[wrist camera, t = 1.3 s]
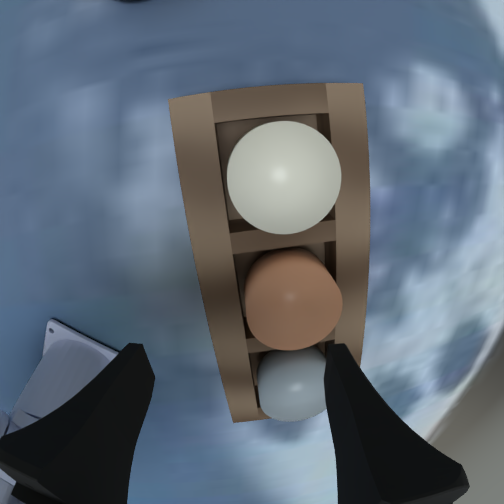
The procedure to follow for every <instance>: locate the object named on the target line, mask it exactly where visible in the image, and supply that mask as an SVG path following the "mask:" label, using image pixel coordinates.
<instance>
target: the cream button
mask: <svg viewBox="0 0 504 504" xmlns="http://www.w3.org/2000/svg"><path fill="white" fill-rule="evenodd" d="M227 186H228V191H229V195H230V198H231V201H232V202H233V204H234V206H235V208H236V209H237V211H238V212H239V214H240V215H241V216H242V217H243V218H244V219H245V220H246V221H247V222H249V223H250V224H251V225H253V226H255V227H256V228H258V229H260V230H263V231H266V232H269V233H274V234H293V233H298V232H301V231H304V230H306V229H308V228H311V227H312V226H314V225H315V224H317V223H318V222H320V221H321V220H322V219H323V218H324V217H325V216H326V215H327V214H328V213H329V211H330V210H331V209H332V207H333V205H334V204H335V202H336V200H337V197H338V194H339V191H340V186H341V167H340V163H339V159H338V157H337V154H336V152H335V150H334V148H333V147H332V145H331V144H330V143H329V141H328V140H327V139H326V138H325V137H324V136H323V135H322V134H321V133H319V132H318V131H317V130H315V129H313V128H311V127H310V126H307V125H305V124H302V123H298V122H292V121H277V122H270V123H264V124H261V125H258V126H256V127H254V128H252V129H250V130H249V131H247V132H246V133H245V134H243V135H242V136H241V137H240V138H239V140H238V141H237V142H236V144H235V145H234V147H233V149H232V151H231V153H230V156H229V159H228V165H227Z"/></svg>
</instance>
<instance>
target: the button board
mask: <svg viewBox="0 0 504 504" xmlns="http://www.w3.org/2000/svg"><path fill="white" fill-rule="evenodd" d="M168 102H169V110H170V117H171V125H172V132H173V139H174V146H175V152H176V159H177V165H178V171H179V178H180V184H181V190H182V196H183V201H184V207H185V213H186V218H187V224H188V229H189V234H190V240H191V245H192V250H193V255H194V260H195V265H196V270H197V275H198V280H199V284H200V289H201V294H202V298H203V303H204V307H205V312H206V316H207V321H208V325H209V330H210V334H211V338H212V342H213V346H214V351H215V355H216V359H217V363H218V367H219V371H220V375H221V379H222V383H223V387H224V390H225V394H226V398H227V402H228V405H229V409H230V413H231V416H232V420H233V423H236V422H246V421H254V420H262V419H269V418H271V417H269V416H268V415H266V414H265V413H264V412H263V410H262V408H261V406H260V399H259V391H258V384H257V375H256V372H257V367H258V365H259V363H260V361H261V360H262V359H263V358H264V356H265V355H267V354H268V353H269V352H271V351H272V350H275V349H274V348H271V347H268V346H266V345H264V344H263V343H261V342H260V341H259V340H258V339H256V337H255V336H254V335H253V334H252V332H251V331H250V328H249V326H248V323H247V317H246V307H245V298H244V282H245V278H246V275H247V273H248V271H249V269H250V268H251V266H252V265H253V264H254V263H255V262H256V261H257V260H258V259H259V258H260V257H262V256H263V255H265V254H266V253H268V252H270V251H273V250H276V249H280V248H286V247H295V248H301V249H304V250H307V251H309V252H311V253H313V254H314V255H316V256H317V257H318V258H319V259H320V260H321V262H322V263H323V264H324V266H325V267H326V269H327V270H328V272H329V273H330V275H331V276H332V278H333V280H334V281H335V283H336V284H337V286H338V288H339V289H340V292H341V295H342V301H343V306H342V312H341V316H340V318H339V321H338V323H337V324H336V326H335V327H334V329H333V330H332V331H331V332H330V333H329V334H328V335H327V336H326V337H325V338H324V339H322V340H321V341H319V342H318V343H316V344H314V345H313V346H315V347H317V348H318V349H320V350H321V351H322V352H323V353H324V355H325V357H326V358H327V350H328V344H339V343H345V344H346V345H347V347H348V349H349V351H350V352H351V354H352V356H353V357H354V359H355V361H356V362H357V364H358V365H359V367H360V363H361V355H362V347H363V338H364V328H365V317H366V305H367V292H368V275H369V252H370V173H369V150H368V134H367V120H366V109H365V98H364V89H363V84H362V83H308V84H286V85H271V86H259V87H248V88H239V89H230V90H223V91H215V92H208V93H202V94H195V95H189V96H184V97H178V98H173V99H168ZM277 121H292V122H298V123H302V124H305V125H307V126H310V127H311V128H313V129H315V130H317V131H318V132H319V133H321V134H322V135H323V136H324V137H325V138H326V139H327V140H328V141H329V143H330V144H331V145H332V147H333V148H334V150H335V152H336V154H337V157H338V159H339V163H340V167H341V186H340V191H339V194H338V197H337V200H336V202H335V204H334V205H333V207H332V209H331V210H330V211H329V213H328V214H327V215H326V216H325V217H324V218H323V219H322V220H321V221H320V222H318V223H317V224H315V225H314V226H312V227H311V228H308V229H306V230H304V231H301V232H298V233H293V234H274V233H269V232H266V231H263V230H260V229H258V228H256V227H255V226H253V225H251V224H250V223H249V222H247V221H246V220H245V219H244V218H243V217H242V216H241V215H240V214H239V212H238V211H237V209H236V208H235V206H234V204H233V202H232V201H231V198H230V195H229V191H228V186H227V165H228V159H229V156H230V153H231V151H232V149H233V147H234V145H235V144H236V142H237V141H238V140H239V138H240V137H241V136H242V135H243V134H245V133H246V132H247V131H249V130H250V129H252V128H254V127H256V126H258V125H261V124H264V123H270V122H277Z"/></svg>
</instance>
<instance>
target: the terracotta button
mask: <svg viewBox="0 0 504 504" xmlns="http://www.w3.org/2000/svg"><path fill="white" fill-rule="evenodd" d="M244 298H245V307H246V317H247V323H248V326H249V328H250V331H251V332H252V334H253V335H254V336H255V337H256V339H258V340H259V341H260V342H261V343H263V344H264V345H266V346H268V347H271V348H274V349H278V350H299V349H303V348H306V347H309V346H312V345H314V344H316V343H318V342H319V341H321V340H322V339H324V338H325V337H326V336H327V335H328V334H329V333H330V332H331V331H332V330H333V329H334V327H335V326H336V324H337V323H338V321H339V318H340V316H341V312H342V306H343V301H342V295H341V292H340V289H339V288H338V286H337V284H336V283H335V281H334V280H333V278H332V276H331V275H330V273H329V272H328V270H327V269H326V267H325V266H324V264H323V263H322V262H321V260H320V259H319V258H318V257H317V256H316V255H314V254H313V253H311V252H309V251H307V250H304V249H301V248H295V247H286V248H280V249H276V250H273V251H270V252H268V253H266V254H265V255H263V256H262V257H260V258H259V259H258V260H257V261H256V262H255V263H254V264H253V265H252V266H251V268H250V269H249V271H248V273H247V275H246V278H245V282H244Z"/></svg>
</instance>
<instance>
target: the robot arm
mask: <svg viewBox="0 0 504 504" xmlns="http://www.w3.org/2000/svg"><path fill="white" fill-rule="evenodd" d="M52 329H53V330H54V331H53V330H52ZM154 381H155V375H154V373H153V370H152V368H151V365H150V363H149V360H148V358H147V355H146V352H145V350H144V347H143V344H137V343H129V344H127V345H126V346H125V347H124V348H123V349H122V350H121V351H120V352H116V351H114V350H112V349H110V348H108V347H106V346H104V345H102V344H100V343H98V342H96V341H94V340H92V339H90V338H88V337H86V336H84V335H82V334H80V333H78V332H76V331H74V330H72V329H70V328H68V327H67V326H65V325H63V324H61V323H59V322H58V321H56V320H54V319H50V320H49V321H48V323H47V329H46V335H45V342H44V349H43V357H42V359H41V361H40V363H39V364H38V366H37V367H36V369H35V371H34V372H33V374H32V376H31V377H30V379H29V381H28V382H27V384H26V386H25V388H24V389H23V391H22V393H21V395H20V396H19V398H18V400H17V402H16V404H15V405H14V407H13V409H12V411H11V413H10V414H9V415H7V414H6V413H5V412H4V411H0V504H127V497H128V486H129V479H130V472H131V466H132V460H133V455H134V450H135V446H136V442H137V439H138V436H139V433H140V430H141V427H142V424H143V421H144V418H145V416H146V413H147V410H148V407H149V404H150V401H151V397H152V392H153V387H154ZM324 391H325V402H326V408H327V413H328V418H329V423H330V428H331V433H332V438H333V443H334V449H335V456H336V468H337V488H338V504H453V502H454V501H456V500H457V499H458V498H459V497H461V496H462V495H464V493H466V492H467V491H468V489H469V487H470V486H469V483H468V479H467V476H466V473H465V471H464V469H463V467H462V465H461V464H459V463H457V462H456V461H454V460H452V459H451V458H449V457H447V456H446V455H444V454H443V453H441V452H440V451H438V450H437V449H436V448H434V447H433V446H431V445H430V444H429V443H427V442H426V441H425V440H424V439H423V438H421V437H420V436H419V435H418V434H417V433H415V432H414V431H413V430H412V429H411V428H410V427H409V426H408V425H407V424H406V423H404V422H403V421H402V420H401V419H400V418H399V417H398V415H397V414H396V413H395V412H394V411H393V410H392V409H391V408H390V407H389V406H388V404H387V403H386V402H385V401H384V400H383V398H382V397H381V396H380V395H379V394H378V392H377V391H376V390H375V388H374V387H373V386H372V384H371V383H370V381H369V380H368V379H367V377H366V376H365V374H364V373H363V372H362V370H361V369H360V367H359V365H358V364H357V362H356V361H355V359H354V357H353V356H352V354H351V352H350V351H349V349H348V347H347V345H346V344H345V343H339V344H328V350H327V358H326V365H325V372H324Z"/></svg>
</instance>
